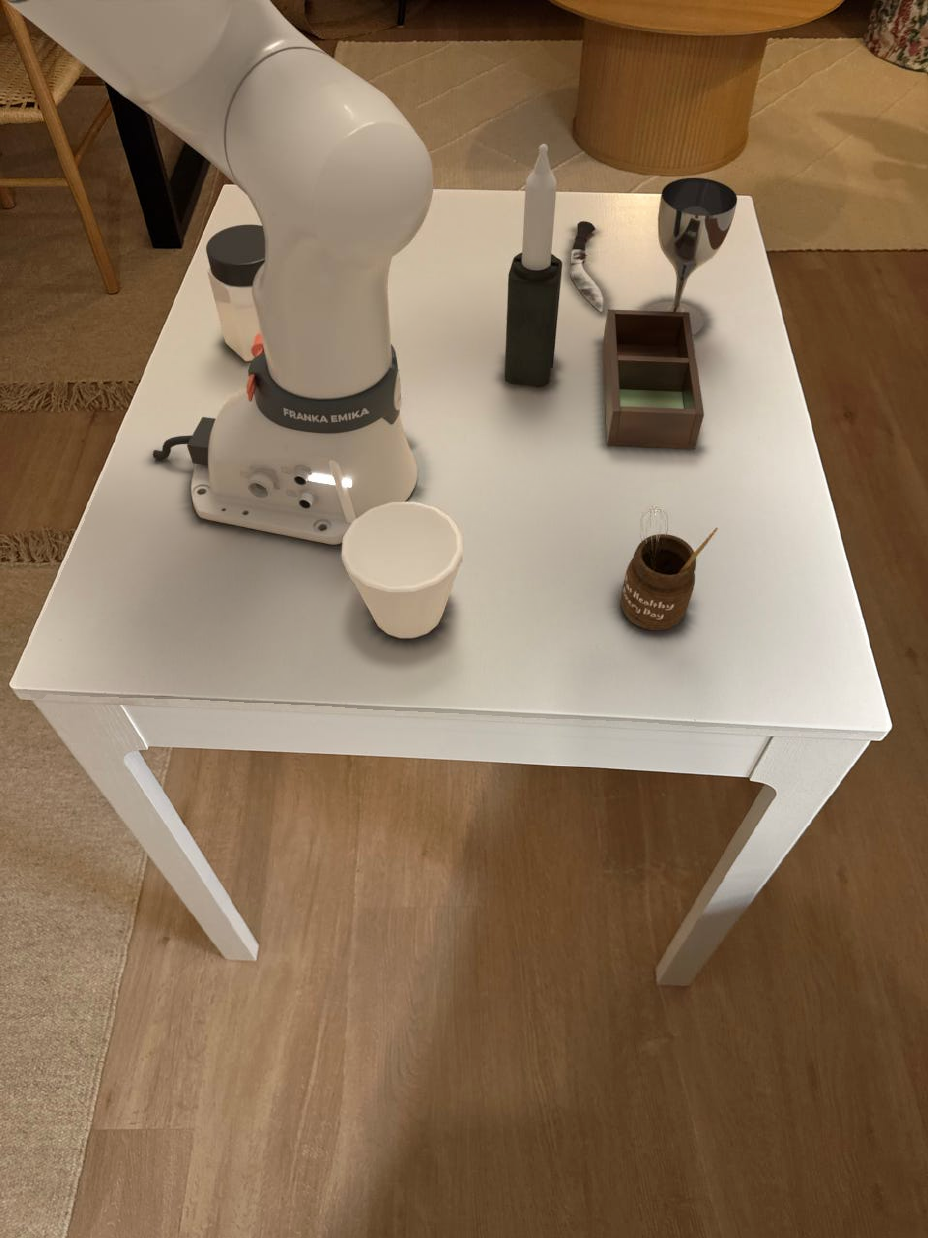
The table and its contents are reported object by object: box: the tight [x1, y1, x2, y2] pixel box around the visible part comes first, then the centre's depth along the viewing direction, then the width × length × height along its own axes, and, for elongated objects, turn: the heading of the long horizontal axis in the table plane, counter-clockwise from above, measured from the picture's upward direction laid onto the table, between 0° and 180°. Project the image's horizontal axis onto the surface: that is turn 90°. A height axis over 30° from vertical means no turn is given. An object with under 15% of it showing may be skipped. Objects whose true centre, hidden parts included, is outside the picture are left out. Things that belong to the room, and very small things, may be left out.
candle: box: [503, 143, 563, 388], centre depth 91 cm, size 5×5×25 cm
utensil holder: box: [620, 506, 719, 631], centre depth 76 cm, size 6×6×12 cm
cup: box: [341, 501, 464, 640], centre depth 77 cm, size 10×10×9 cm
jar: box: [205, 224, 265, 362], centre depth 100 cm, size 9×8×12 cm
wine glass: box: [645, 177, 738, 336], centre depth 101 cm, size 8×8×15 cm
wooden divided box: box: [602, 308, 705, 450], centre depth 97 cm, size 9×17×5 cm, turn 176°
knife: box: [569, 220, 605, 313], centre depth 113 cm, size 18×1×5 cm
